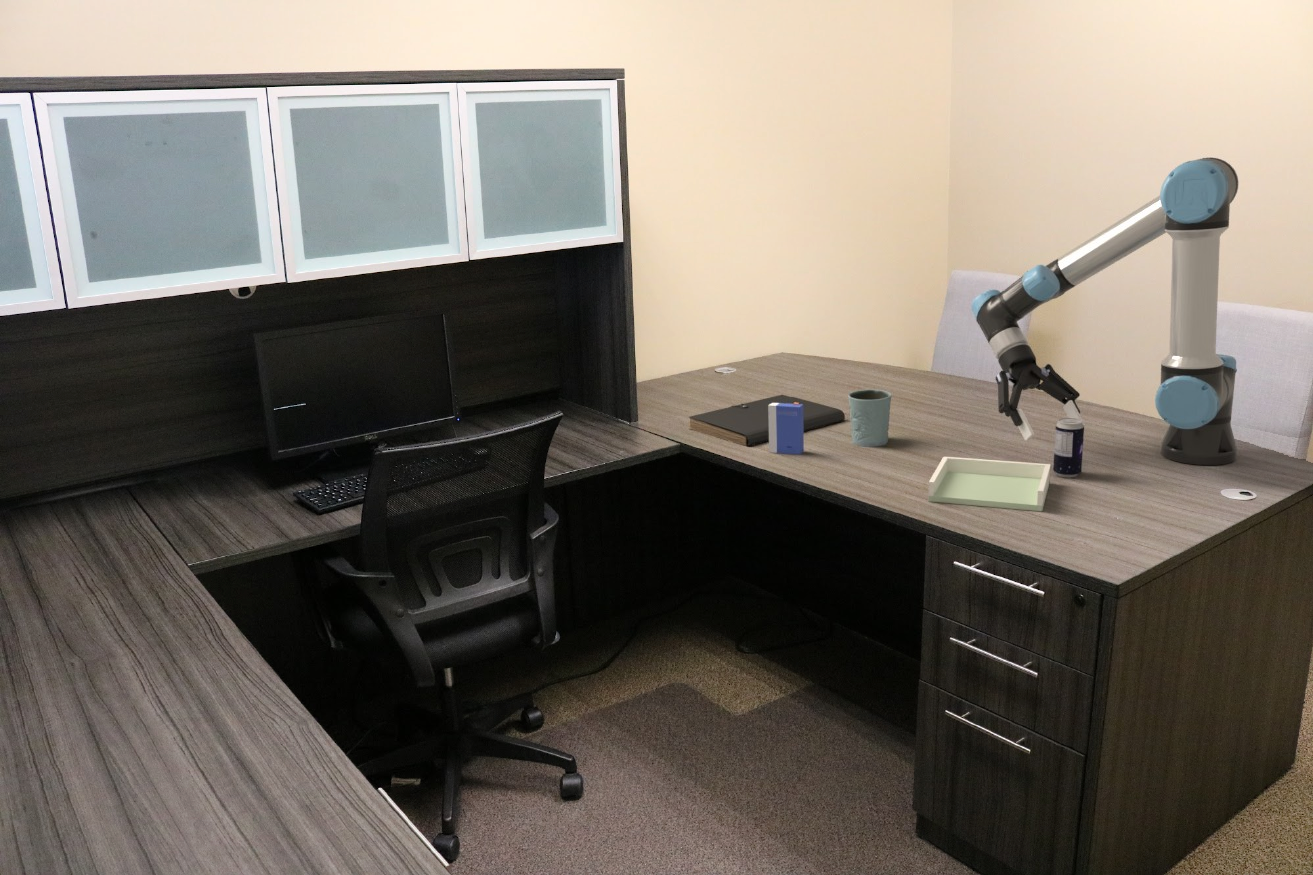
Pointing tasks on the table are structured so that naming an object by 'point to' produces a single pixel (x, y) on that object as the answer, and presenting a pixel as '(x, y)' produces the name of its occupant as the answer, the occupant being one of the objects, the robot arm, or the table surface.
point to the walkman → (786, 428)
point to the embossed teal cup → (869, 417)
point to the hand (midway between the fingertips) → (1055, 433)
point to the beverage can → (1068, 447)
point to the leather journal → (759, 419)
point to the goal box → (990, 483)
